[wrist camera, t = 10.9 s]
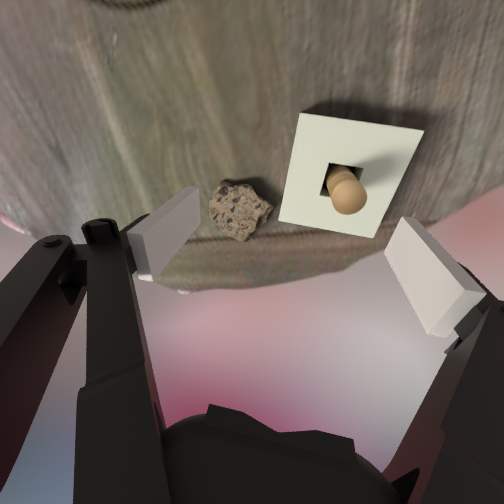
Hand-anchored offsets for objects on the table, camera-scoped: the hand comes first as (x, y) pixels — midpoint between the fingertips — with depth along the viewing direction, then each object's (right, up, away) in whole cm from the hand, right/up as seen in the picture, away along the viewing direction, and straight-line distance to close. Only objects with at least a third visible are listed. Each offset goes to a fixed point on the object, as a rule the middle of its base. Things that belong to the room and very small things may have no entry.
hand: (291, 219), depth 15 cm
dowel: (+12, +11, +23) cm, 28 cm away
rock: (-5, +7, +29) cm, 30 cm away
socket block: (+12, +11, +23) cm, 28 cm away
